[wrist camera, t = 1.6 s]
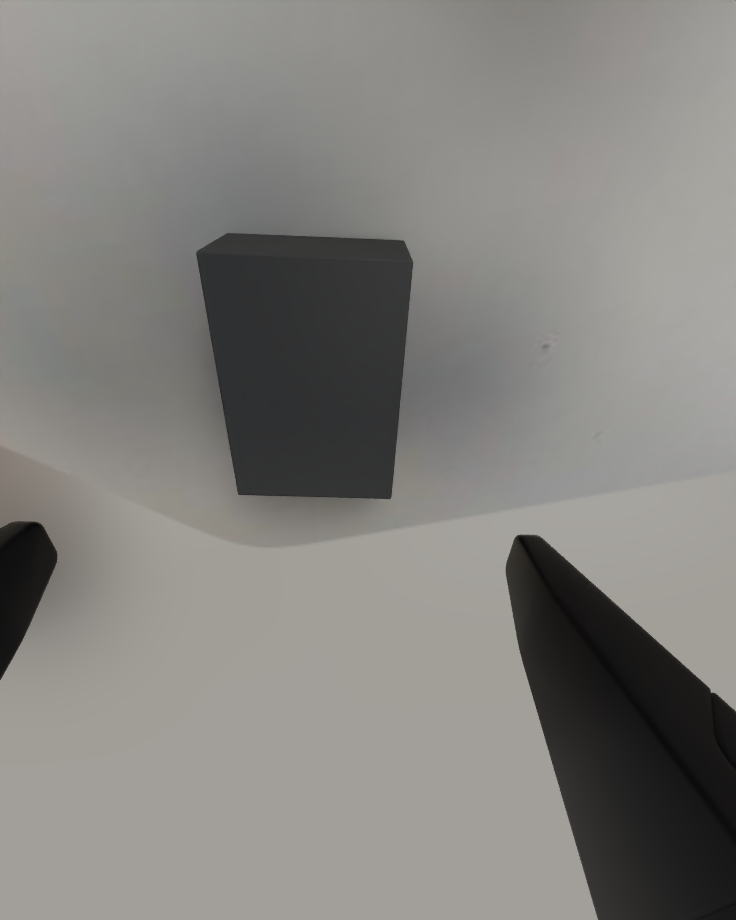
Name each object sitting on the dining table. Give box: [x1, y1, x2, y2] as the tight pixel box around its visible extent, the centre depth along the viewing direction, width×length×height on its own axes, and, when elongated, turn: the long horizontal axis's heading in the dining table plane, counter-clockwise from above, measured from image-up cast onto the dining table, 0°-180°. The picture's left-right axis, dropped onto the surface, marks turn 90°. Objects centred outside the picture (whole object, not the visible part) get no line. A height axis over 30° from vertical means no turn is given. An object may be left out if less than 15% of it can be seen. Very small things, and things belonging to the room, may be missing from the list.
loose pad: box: [196, 233, 413, 499], centre depth 15 cm, size 8×6×3 cm
